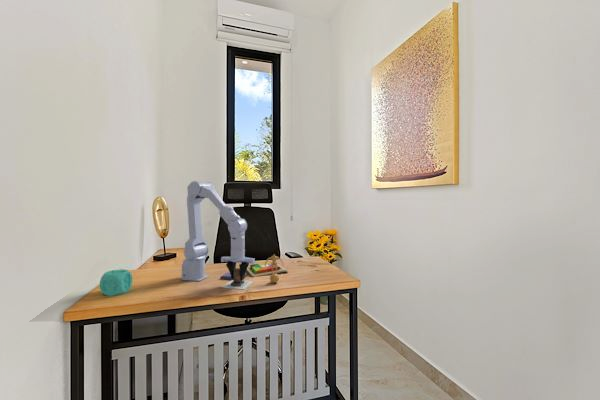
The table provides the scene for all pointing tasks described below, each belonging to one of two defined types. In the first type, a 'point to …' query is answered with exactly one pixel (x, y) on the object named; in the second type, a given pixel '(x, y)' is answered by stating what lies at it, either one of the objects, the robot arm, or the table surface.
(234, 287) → the card sheet
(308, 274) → the table surface
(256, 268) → the wooden puzzle
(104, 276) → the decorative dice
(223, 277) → the ink pad
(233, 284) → the stamp
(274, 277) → the figurine
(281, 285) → the table surface
